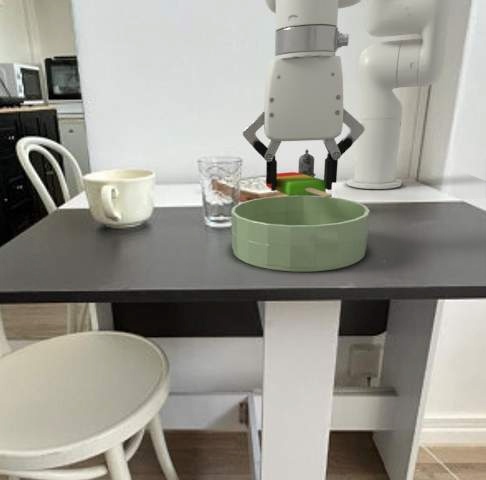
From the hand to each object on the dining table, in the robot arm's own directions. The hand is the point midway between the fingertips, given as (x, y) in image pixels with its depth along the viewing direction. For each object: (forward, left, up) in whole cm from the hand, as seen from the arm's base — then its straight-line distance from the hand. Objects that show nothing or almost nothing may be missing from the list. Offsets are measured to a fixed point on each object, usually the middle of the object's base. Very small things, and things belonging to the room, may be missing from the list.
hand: (300, 187), depth 62 cm
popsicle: (0, 0, -1) cm, 1 cm away
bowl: (0, 0, -9) cm, 9 cm away
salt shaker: (-21, +3, -9) cm, 23 cm away
